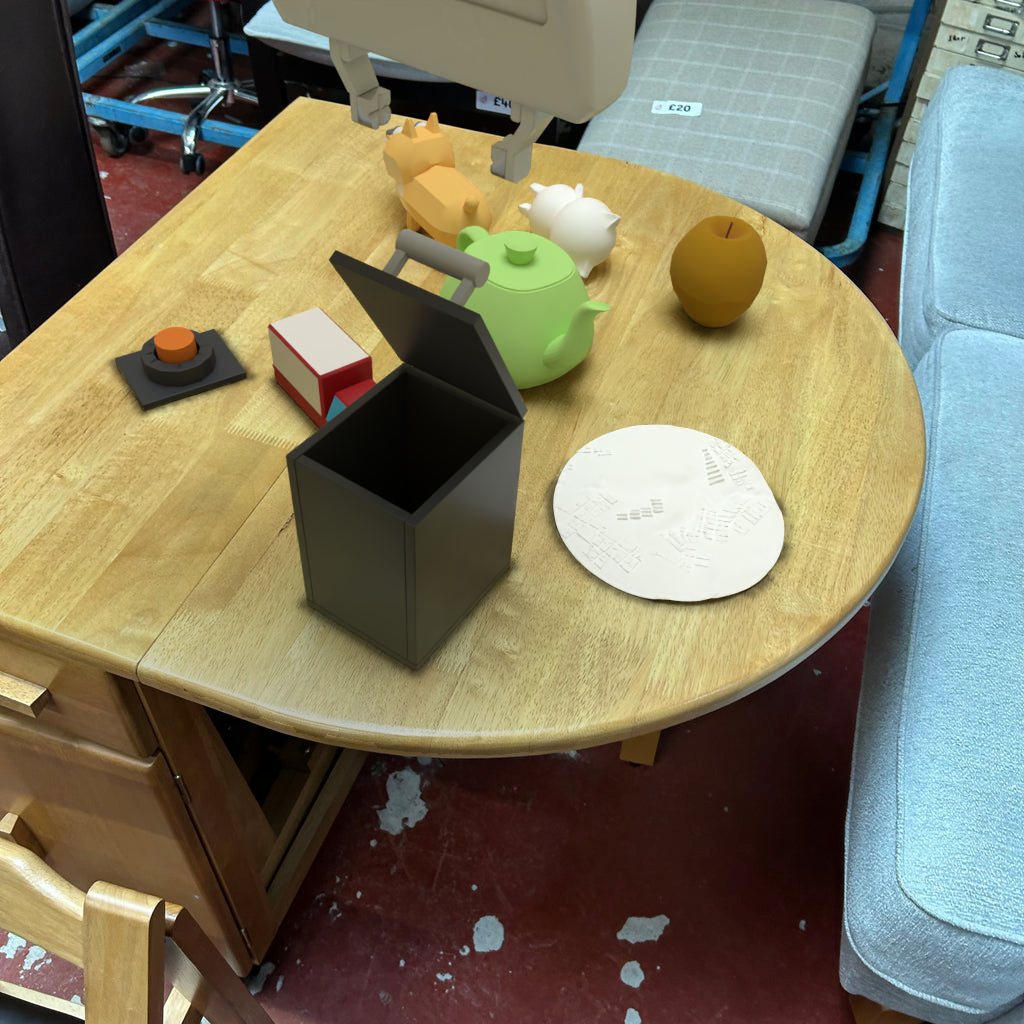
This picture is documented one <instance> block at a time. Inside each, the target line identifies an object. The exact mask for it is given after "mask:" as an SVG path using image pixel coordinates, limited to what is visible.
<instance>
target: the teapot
mask: <svg viewBox="0 0 1024 1024" xmlns="http://www.w3.org/2000/svg"><path fill="white" fill-rule="evenodd" d="M457 250H459V251H462V252H464V253H467V254H469V255H471V256H474V257H476V258H478V259H481V260H483V261H486V262H488V263H489V265H490V274H489V277H488V279H487V281H486V283H485V284H484V285H483V286H482V287H481V288H475V290H474V291H473V293H472V294H471V296H470V297H469V299H468V301H467V302H466V304H465V305H464V307H465V308H467V309H470V310H472V311H474V312H476V313H479V314H480V315H481V317H482V319H483V321H484V323H485V325H486V327H487V329H488V331H489V333H490V335H491V337H492V339H493V341H494V343H495V345H496V347H497V349H498V351H499V353H500V355H501V357H502V359H503V361H504V363H505V365H506V367H507V369H508V371H509V373H510V375H511V377H512V379H513V381H514V383H515V385H516V387H517V389H518V390H525V389H530V388H536V387H538V386H541V385H545V384H547V383H551V382H553V381H554V380H556V379H559V378H560V377H562V376H564V375H566V374H567V373H569V372H570V371H571V370H573V369H575V367H577V366H578V365H579V364H581V362H582V361H584V360H585V359H586V358H587V356H588V355H589V353H590V351H591V349H592V347H593V343H594V336H595V323H594V322H595V319H596V317H597V315H599V314H601V313H604V312H608V311H610V310H611V308H612V307H611V306H610V305H609V304H607V303H605V302H602V301H598V300H591V299H590V296H589V293H588V291H587V288H586V285H585V283H584V281H583V277H582V276H580V274H579V271H578V269H577V268H576V266H575V264H574V262H573V261H572V259H571V258H570V256H569V255H568V254H567V253H566V252H565V251H564V250H563V249H562V248H560V247H559V246H558V245H557V244H555V243H553V242H552V241H550V240H548V239H546V238H544V237H542V236H539V235H537V234H534V233H533V232H529V231H525V230H507V231H502V232H497V233H495V234H494V233H493V234H492V235H491V234H490V233H489V232H487V231H486V230H485V229H483V228H482V227H479V226H469V227H466V228H464V229H463V230H461V231H460V232H459V234H458V237H457ZM460 283H461V281H460V280H458V279H456V278H453V277H451V276H449V275H447V276H446V278H445V279H444V281H443V284H442V286H441V289H440V292H439V295H438V296H440V297H443V298H445V299H447V300H450V298H451V297H452V295H453V294H454V292H455V291H456V289H457V287H458V286H459V284H460Z"/></svg>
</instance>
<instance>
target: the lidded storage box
mask: <svg viewBox="0 0 1024 1024" xmlns="http://www.w3.org/2000/svg"><path fill="white" fill-rule="evenodd" d="M376 383H377V384H376V385H374V386H373V387H372V388H371V389H369V390H368V391H367V392H366V393H364V394H363V395H362V396H360V397H359V398H358V399H357V400H355V401H354V402H353V403H352V404H350V405H349V406H348V407H347V408H345V409H344V410H343V411H341V412H340V413H339V414H338V415H336V416H335V417H334V418H333V419H331V420H330V421H329V422H328V423H326V424H325V425H324V426H322V427H321V428H319V429H317V430H316V431H314V433H312V434H311V435H310V436H309V437H307V438H306V439H304V440H303V441H302V442H301V443H299V444H298V445H297V446H295V448H294V449H292V450H290V451H289V452H288V453H287V454H286V455H285V462H286V467H287V475H288V482H289V488H290V489H289V490H290V495H291V503H292V510H293V516H294V517H293V518H294V523H295V530H296V536H297V543H298V544H297V545H298V550H299V557H300V563H301V571H302V579H303V585H304V591H305V592H304V593H305V598H306V599H305V600H306V604H307V606H309V607H311V608H312V609H314V610H316V611H317V612H319V613H320V614H321V615H323V616H325V617H327V618H328V619H330V620H332V621H334V622H335V623H336V624H338V625H340V626H342V627H343V628H345V629H347V630H348V631H349V632H351V633H353V634H355V635H356V636H358V637H359V638H361V639H363V640H364V641H366V642H368V643H369V644H370V645H372V646H374V647H376V648H377V649H378V650H380V651H382V652H384V653H385V654H387V655H388V656H390V657H392V658H393V659H395V660H397V661H398V662H400V663H402V664H403V665H405V666H407V667H408V668H410V669H411V670H413V671H415V672H418V671H419V670H420V668H421V667H422V666H423V665H424V664H425V663H426V661H427V660H428V659H429V658H430V657H431V656H432V655H433V654H434V653H435V652H436V650H437V649H438V648H439V647H440V646H441V645H442V644H443V643H444V641H445V640H446V639H447V638H448V637H449V636H450V635H451V634H452V633H453V631H454V630H455V629H456V628H457V627H458V626H459V625H460V623H461V622H462V621H464V619H466V617H467V616H468V614H469V613H470V612H471V611H472V610H473V609H474V608H475V606H476V605H477V604H479V602H480V601H481V600H482V599H483V598H484V596H485V595H487V593H488V592H490V590H491V589H492V588H493V586H494V585H495V584H496V583H497V582H498V581H499V580H500V578H502V576H503V575H504V574H505V573H506V572H507V571H508V570H509V568H510V567H511V563H512V562H511V560H512V551H513V543H514V534H515V533H514V531H515V524H516V523H515V521H516V514H517V513H516V512H517V502H518V492H519V483H520V473H521V462H522V453H523V442H524V441H523V440H524V433H525V419H524V418H523V419H521V418H519V417H517V416H514V415H512V414H510V413H508V412H506V411H504V410H502V409H500V408H498V407H496V406H494V405H492V404H490V403H487V402H485V401H483V400H481V399H479V398H477V397H475V396H473V395H471V394H469V393H467V392H465V391H463V390H460V389H458V388H456V387H454V386H452V385H450V384H448V383H446V382H444V381H442V380H440V379H438V378H436V377H433V376H431V375H429V374H427V373H425V372H423V371H421V370H419V369H417V368H415V367H413V366H411V365H409V364H406V363H404V362H402V363H401V364H400V365H398V366H397V367H395V369H393V370H392V371H391V372H390V373H389V374H387V375H386V376H384V377H383V378H382V379H380V381H378V382H376Z"/></svg>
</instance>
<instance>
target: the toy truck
mask: <svg viewBox="0 0 1024 1024" xmlns="http://www.w3.org/2000/svg"><path fill="white" fill-rule="evenodd" d="M267 330H268V338H269V345H270V352H271V358H272V368H273V372H274V373H273V374H274V379H275V381H276V382H277V383H278V384H279V385H280V386H281V387H282V388H283V390H284V391H285V392H286V393H287V394H288V395H289V396H290V397H291V398H292V399H293V401H295V403H296V404H297V405H298V406H299V407H300V408H301V409H302V410H303V411H304V412H305V414H306V415H307V416H308V417H309V418H310V419H311V420H312V422H313V423H315V425H316V426H317V427H318V428H319V429H320V428H321V427H322V426H324V425H325V424H326V423H328V422H329V421H330V420H331V419H333V418H334V417H335V416H336V415H338V414H339V413H340V412H341V411H343V410H344V409H345V408H347V407H348V406H349V405H350V404H352V403H353V402H354V401H355V400H357V399H358V398H359V397H360V396H362V395H363V394H364V393H366V392H367V391H368V390H369V389H371V388H372V387H373V386H374V385H376V384H377V383H378V382H376V381H375V380H374V373H373V357H372V356H371V355H370V354H369V353H368V352H367V351H366V350H365V349H364V348H363V347H362V346H361V345H360V344H358V342H356V341H355V340H354V339H353V337H351V336H350V335H349V334H348V333H347V332H346V331H345V330H344V329H343V328H342V327H341V326H340V325H339V324H337V322H335V320H333V319H332V318H331V316H330V315H328V313H326V312H325V311H324V310H323V309H322V308H321V307H319V306H316V307H312V308H310V309H307V310H304V311H302V312H298V313H296V314H293V315H290V316H288V317H284V318H282V319H280V320H277V321H273V322H271V323H269V324H268V326H267Z"/></svg>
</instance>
